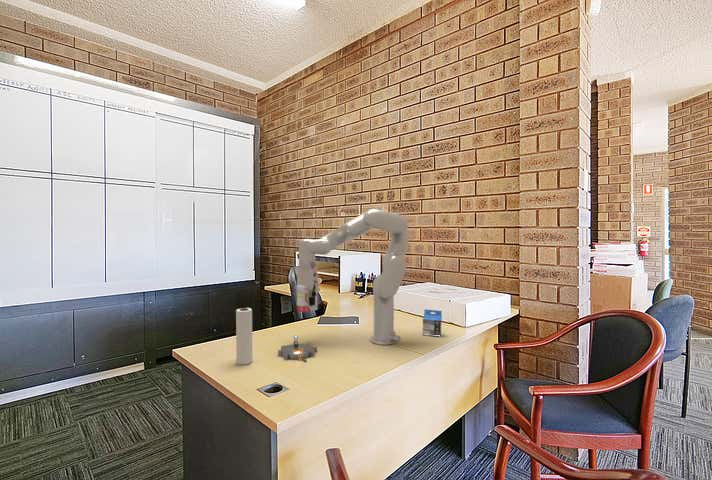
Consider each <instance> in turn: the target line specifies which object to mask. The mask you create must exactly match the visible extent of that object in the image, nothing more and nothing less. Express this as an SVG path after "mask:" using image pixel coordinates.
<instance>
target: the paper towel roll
mask: <svg viewBox="0 0 712 480" xmlns="http://www.w3.org/2000/svg"><path fill="white" fill-rule="evenodd" d="M235 326H236V329H235V330H236V331H235V332H236V333H235V335H236V336H235V337H236V338H235V339H236V340H235V341H236V345H235V346H236V364H237V365H239V366H246V365H249V364H251V363H253V309H252V308H251V307H243V308H237V309H236V310H235Z"/></svg>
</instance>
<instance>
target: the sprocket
mask: <svg viewBox="0 0 712 480" xmlns="http://www.w3.org/2000/svg"><path fill="white" fill-rule="evenodd" d="M317 352H318V346H313V345H312V344H311V343H309V342H306V343H299V335H293V343H292V344H288V345H281V346H280V349H278V350H277V356H278V357H281V358H283V361H288V360H293V361H294V360H295V361H296V360H298V361H299V362H300V361H302V360H303V359H308V358H314V357H316V353H317Z"/></svg>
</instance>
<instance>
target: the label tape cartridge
mask: <svg viewBox="0 0 712 480" xmlns="http://www.w3.org/2000/svg"><path fill="white" fill-rule="evenodd" d="M442 314H443V312H442V310H434V309H424V313H423V317H422V335H423V334H429V335H441V336H442V319H443V317H442V316H443V315H442Z"/></svg>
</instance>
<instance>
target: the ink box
mask: <svg viewBox="0 0 712 480" xmlns="http://www.w3.org/2000/svg"><path fill="white" fill-rule="evenodd" d="M312 293H313V291H312ZM309 297H310V293H309V291H308V290H307V287H306V286H301V285H298V286H297V290H296V311H297V312H299V313H303V314H304V313H309V312H312V311H316V310H318V294H317V295H316V296H315V305H313V306H310V305H309Z"/></svg>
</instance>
